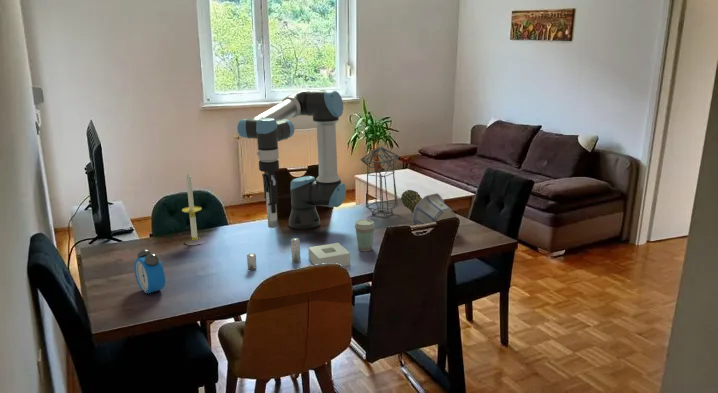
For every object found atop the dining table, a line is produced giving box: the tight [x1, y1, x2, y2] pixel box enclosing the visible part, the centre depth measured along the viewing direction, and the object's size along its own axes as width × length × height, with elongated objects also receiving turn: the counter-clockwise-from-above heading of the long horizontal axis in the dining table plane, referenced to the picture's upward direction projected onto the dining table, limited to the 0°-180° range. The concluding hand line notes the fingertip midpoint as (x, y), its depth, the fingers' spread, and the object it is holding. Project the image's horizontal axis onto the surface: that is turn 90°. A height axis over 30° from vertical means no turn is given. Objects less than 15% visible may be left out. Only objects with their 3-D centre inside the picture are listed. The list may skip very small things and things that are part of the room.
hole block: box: [308, 242, 351, 267], centre depth 226 cm, size 13×13×5 cm
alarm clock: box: [133, 248, 166, 294], centre depth 201 cm, size 13×6×15 cm, turn 43°
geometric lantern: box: [360, 146, 401, 219], centre depth 282 cm, size 16×16×35 cm
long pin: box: [265, 191, 278, 229], centre depth 218 cm, size 3×3×14 cm
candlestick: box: [181, 171, 202, 240], centre depth 247 cm, size 10×10×32 cm
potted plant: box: [400, 189, 457, 226], centre depth 264 cm, size 18×18×30 cm
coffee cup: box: [354, 219, 376, 252], centre depth 239 cm, size 9×8×12 cm
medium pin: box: [290, 237, 301, 264], centre depth 226 cm, size 3×3×10 cm
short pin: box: [246, 253, 258, 272], centre depth 220 cm, size 3×3×6 cm
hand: (272, 218), depth 219 cm, fingers closed on long pin, 3 cm apart
